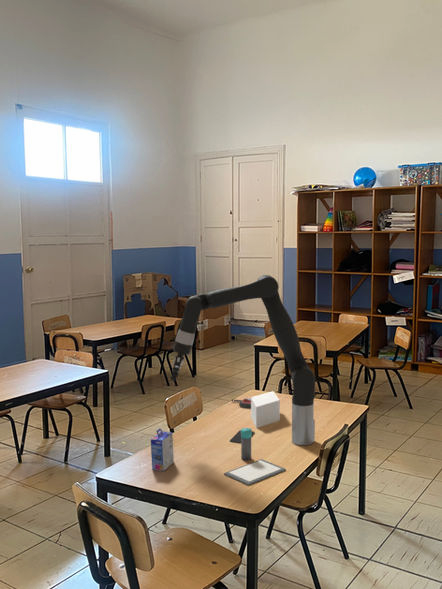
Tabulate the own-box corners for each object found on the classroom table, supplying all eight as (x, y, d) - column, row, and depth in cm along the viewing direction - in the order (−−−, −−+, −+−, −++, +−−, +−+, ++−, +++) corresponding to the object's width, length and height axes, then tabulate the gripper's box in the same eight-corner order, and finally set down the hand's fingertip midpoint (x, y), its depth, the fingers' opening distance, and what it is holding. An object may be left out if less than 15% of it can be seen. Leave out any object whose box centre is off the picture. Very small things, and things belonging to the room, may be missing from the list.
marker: (246, 455, 235) (246, 427, 234) (253, 458, 232) (253, 429, 231) (238, 458, 233) (238, 429, 231) (246, 461, 229) (246, 432, 228)
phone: (228, 441, 251) (239, 429, 265) (228, 442, 251) (240, 431, 265) (244, 443, 249) (255, 431, 263) (244, 445, 249) (255, 433, 263)
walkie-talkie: (267, 405, 305) (232, 402, 312) (267, 397, 304) (232, 394, 312) (262, 410, 297) (226, 406, 304) (262, 402, 296) (226, 398, 304)
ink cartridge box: (161, 460, 231) (160, 425, 230) (174, 461, 230) (173, 426, 228) (150, 469, 222) (149, 433, 221) (163, 471, 220) (163, 434, 219)
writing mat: (261, 460, 230) (261, 458, 230) (285, 470, 221) (285, 468, 220) (224, 474, 217) (224, 472, 217) (248, 485, 207) (248, 483, 207)
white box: (287, 412, 293) (287, 392, 292) (271, 430, 266) (271, 408, 265) (259, 409, 298) (259, 389, 297) (241, 426, 272) (241, 405, 270)
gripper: (191, 346, 237) (181, 384, 238) (193, 341, 252) (183, 377, 253) (173, 341, 237) (163, 379, 238) (177, 337, 252) (167, 372, 253)
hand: (174, 378), depth 245 cm, fingers open, 8 cm apart
